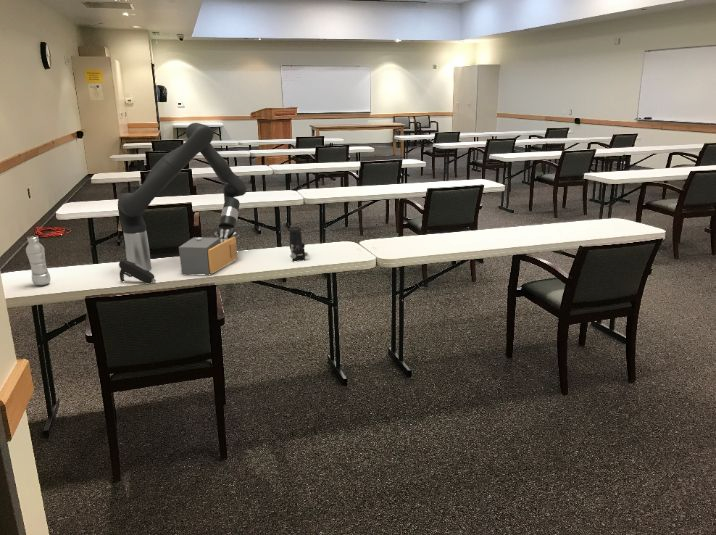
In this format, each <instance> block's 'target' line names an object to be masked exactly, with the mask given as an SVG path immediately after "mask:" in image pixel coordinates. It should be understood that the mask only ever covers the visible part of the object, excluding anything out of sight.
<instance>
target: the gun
mask: <svg viewBox="0 0 716 535" xmlns="http://www.w3.org/2000/svg"><path fill="white" fill-rule="evenodd" d="M118 266H119V268H120V271H119V279H120V281H121V282H122V283H124V282H125V276H127V277H129V278H131V277H133V278H134V279H136V280H138V281H140V282H142V283H144V284H145V283H151V282H152V283H155V282H156V281H157V280H156V278H155V275H154V274H153V273H152V272H151V270H149V271H148V270H147V269H145V268H143V267H141V266H140V265H138V264H135V263H133V262H129V261H127V259H122V260H119V262H118ZM123 281H124V282H123ZM152 283H151V284H152Z"/></svg>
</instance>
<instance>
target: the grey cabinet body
mask: <svg viewBox="0 0 716 535" xmlns="http://www.w3.org/2000/svg"><path fill="white" fill-rule="evenodd" d="M220 243H221V242H220V237H217V238H214V237H202V236H201V237H200V236H199V237H196V236H195V237H194V236H193V237H192V238H190V239H188V240H187V241H186V242H184V243H183V244H182V245H180V246H178V254H179V263H180V271H181V275H182V274H205V275H204V276H210V275H211V274H212V273H210V268H209V258H208V250H209V249H211V248H213V247H215V246H217V245H219V244H220ZM209 274H210V275H209Z"/></svg>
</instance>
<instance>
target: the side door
mask: <svg viewBox="0 0 716 535" xmlns="http://www.w3.org/2000/svg"><path fill="white" fill-rule="evenodd" d="M237 248H238V247H237V239H236V237H232V238H230V239H228V240H226V241H224V242H222V243H220V244H219V245H217V246H215V247H213V248H211V249H209V250H208V258H209V268H210V273H211V274H213V273H216V272H217V271H218V270H221V269H222V268H224V267H225V266H227V265H228V264H230V263H232V262H234V261H235V260H237V259H238V249H237Z"/></svg>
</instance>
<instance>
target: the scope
mask: <svg viewBox="0 0 716 535" xmlns="http://www.w3.org/2000/svg"><path fill="white" fill-rule="evenodd" d="M288 229H289V230H288V231H289V250H290V255H289V257H290V258H291V261H292V262H294V261H297V260H300V261H303V260H304V261H306V257H307V256H308V255H309V252H307V251H305V247H306V246H305V243H304V242H303V241H302V240H303V239H302V227H301V226H291V227H289V228H288ZM297 262H298V261H297ZM294 263H295V262H294Z"/></svg>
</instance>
